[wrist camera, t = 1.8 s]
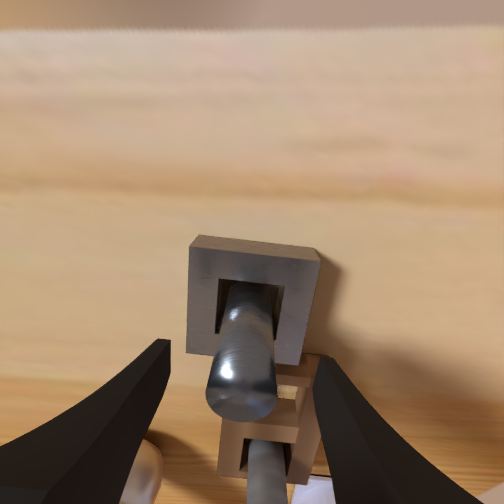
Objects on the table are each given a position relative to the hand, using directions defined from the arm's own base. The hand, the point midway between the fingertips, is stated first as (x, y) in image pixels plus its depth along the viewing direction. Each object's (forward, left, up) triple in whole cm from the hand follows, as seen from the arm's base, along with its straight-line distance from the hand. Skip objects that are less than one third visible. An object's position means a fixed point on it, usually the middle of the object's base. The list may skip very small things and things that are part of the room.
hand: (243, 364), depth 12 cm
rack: (-3, +11, -7) cm, 14 cm away
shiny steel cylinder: (0, 0, -7) cm, 7 cm away
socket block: (0, 0, -7) cm, 7 cm away
